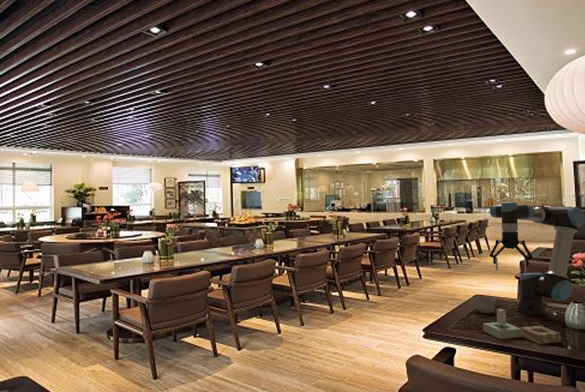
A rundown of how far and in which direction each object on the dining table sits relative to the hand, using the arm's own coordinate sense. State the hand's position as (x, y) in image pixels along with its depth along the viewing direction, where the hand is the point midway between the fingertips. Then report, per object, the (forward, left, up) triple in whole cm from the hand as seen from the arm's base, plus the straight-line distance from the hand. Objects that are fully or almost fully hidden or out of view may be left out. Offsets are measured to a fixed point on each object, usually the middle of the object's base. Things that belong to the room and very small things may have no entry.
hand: (511, 271), depth 222 cm
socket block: (+14, +11, -29) cm, 34 cm away
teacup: (-4, -27, -29) cm, 40 cm away
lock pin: (+15, +10, -29) cm, 34 cm away
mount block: (+1, +21, -29) cm, 36 cm away
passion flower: (-52, -38, -29) cm, 71 cm away
